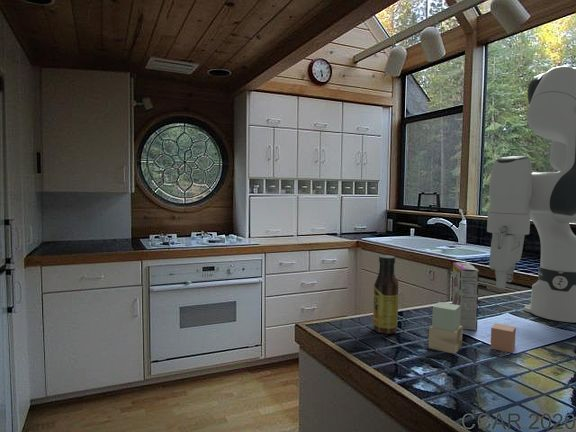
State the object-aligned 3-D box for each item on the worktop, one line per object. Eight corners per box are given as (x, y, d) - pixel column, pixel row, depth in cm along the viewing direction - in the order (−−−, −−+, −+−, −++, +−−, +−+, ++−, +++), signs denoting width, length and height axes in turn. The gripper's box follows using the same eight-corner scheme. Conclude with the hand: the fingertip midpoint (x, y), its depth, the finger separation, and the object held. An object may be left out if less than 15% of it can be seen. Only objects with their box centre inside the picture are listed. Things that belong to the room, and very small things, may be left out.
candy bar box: (450, 317, 124) (452, 262, 123) (468, 318, 123) (470, 262, 122) (457, 329, 114) (459, 268, 113) (477, 331, 113) (480, 269, 112)
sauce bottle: (374, 325, 116) (376, 253, 115) (398, 328, 114) (400, 254, 113) (371, 333, 110) (373, 257, 109) (396, 336, 108) (398, 258, 107)
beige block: (436, 341, 105) (437, 321, 105) (461, 346, 102) (462, 326, 101) (428, 348, 100) (429, 327, 100) (455, 354, 97) (455, 332, 96)
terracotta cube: (494, 343, 104) (495, 323, 104) (514, 347, 101) (515, 326, 101) (490, 348, 100) (491, 327, 100) (511, 353, 98) (512, 331, 98)
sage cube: (438, 322, 104) (438, 302, 104) (459, 326, 101) (460, 305, 101) (432, 327, 100) (432, 306, 100) (454, 331, 97) (455, 310, 97)
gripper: (516, 228, 89) (512, 294, 90) (529, 224, 105) (525, 280, 106) (483, 226, 92) (480, 289, 93) (501, 223, 109) (497, 276, 110)
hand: (504, 284), depth 100 cm, fingers open, 8 cm apart
